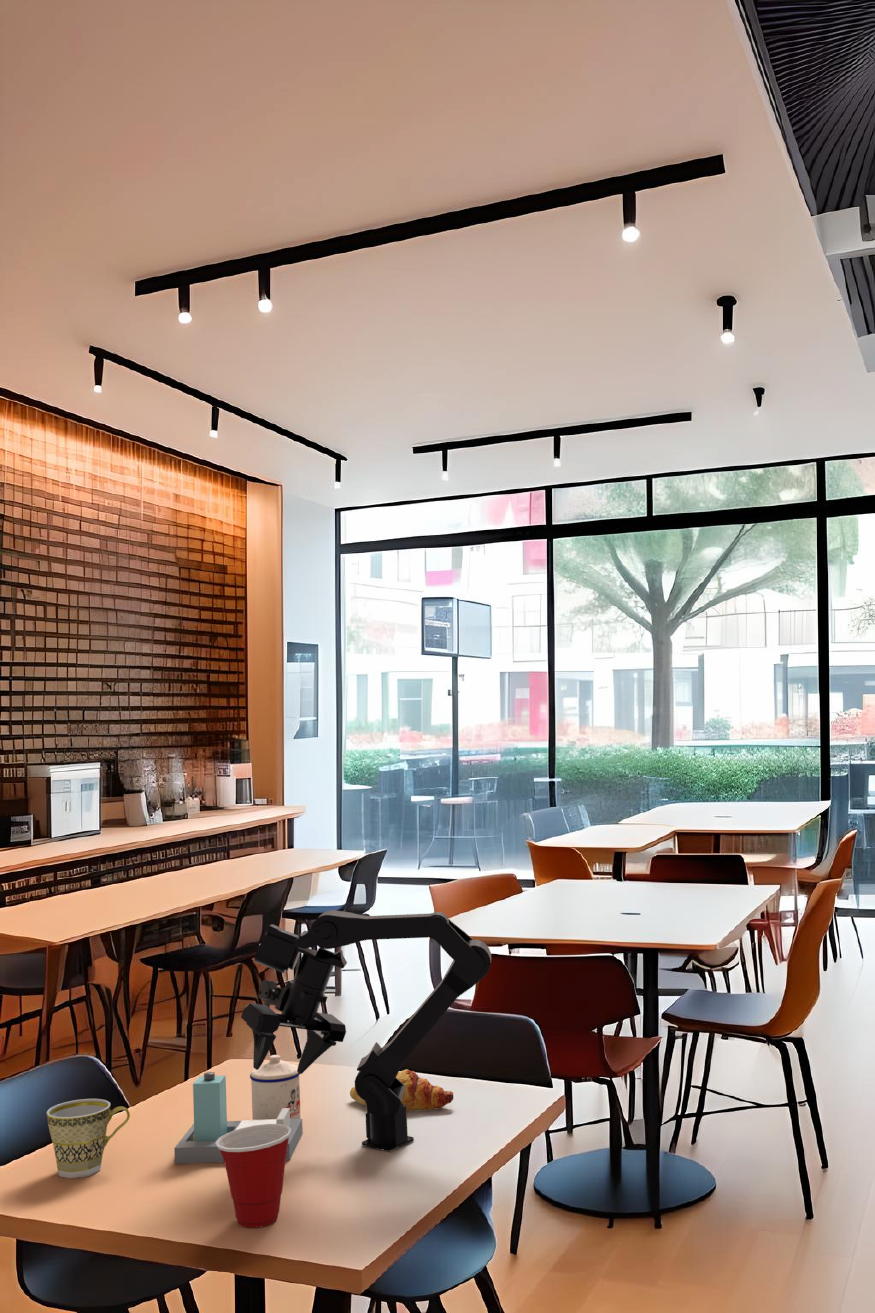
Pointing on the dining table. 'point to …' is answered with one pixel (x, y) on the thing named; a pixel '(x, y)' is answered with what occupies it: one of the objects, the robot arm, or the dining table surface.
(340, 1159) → the dining table surface
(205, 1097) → the teal rectangular bottle
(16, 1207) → the dining table surface
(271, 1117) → the teacup with lid
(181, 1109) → the dining table surface
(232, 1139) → the plastic cup
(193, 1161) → the socket plate
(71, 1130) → the ceramic cup
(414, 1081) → the croissant
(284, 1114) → the panel
